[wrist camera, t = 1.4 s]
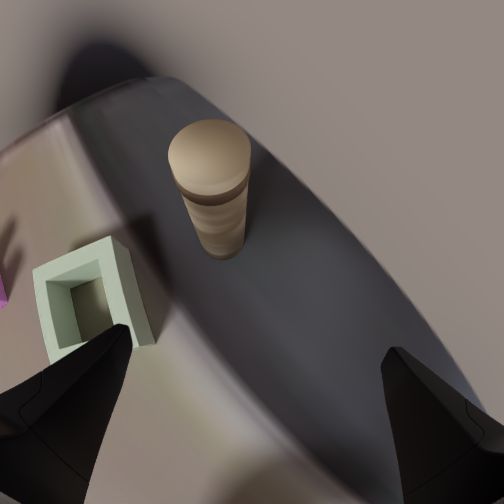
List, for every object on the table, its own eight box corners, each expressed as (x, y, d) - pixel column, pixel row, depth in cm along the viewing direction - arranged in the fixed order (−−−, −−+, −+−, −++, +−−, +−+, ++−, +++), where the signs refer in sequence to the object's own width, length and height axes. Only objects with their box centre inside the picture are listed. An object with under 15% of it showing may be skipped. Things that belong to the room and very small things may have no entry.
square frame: (155, 344, 21) (139, 346, 17) (77, 366, 20) (52, 369, 16) (129, 250, 23) (110, 235, 19) (57, 279, 21) (32, 270, 18)
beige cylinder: (216, 269, 23) (193, 201, 11) (192, 234, 23) (153, 143, 11) (253, 244, 23) (269, 157, 11) (228, 210, 24) (222, 107, 12)
